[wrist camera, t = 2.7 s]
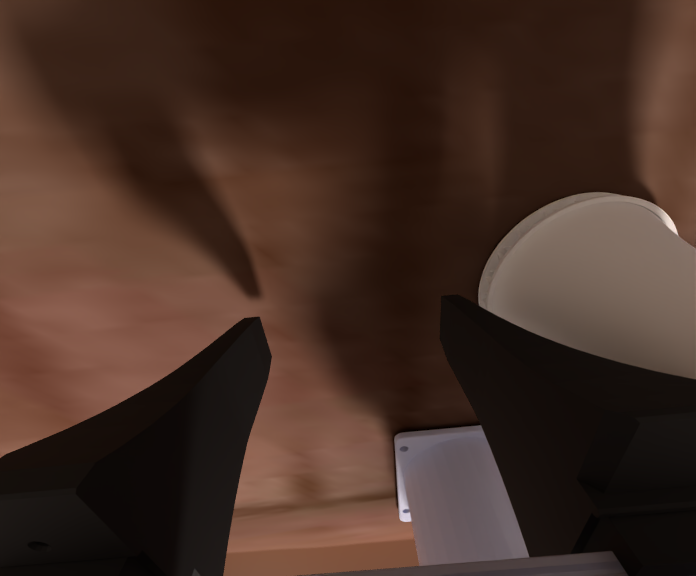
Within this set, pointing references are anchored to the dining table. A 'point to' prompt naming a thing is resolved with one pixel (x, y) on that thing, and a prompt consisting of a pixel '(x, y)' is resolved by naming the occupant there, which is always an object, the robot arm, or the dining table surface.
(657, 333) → the vase
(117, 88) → the dining table surface
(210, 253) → the dining table surface
